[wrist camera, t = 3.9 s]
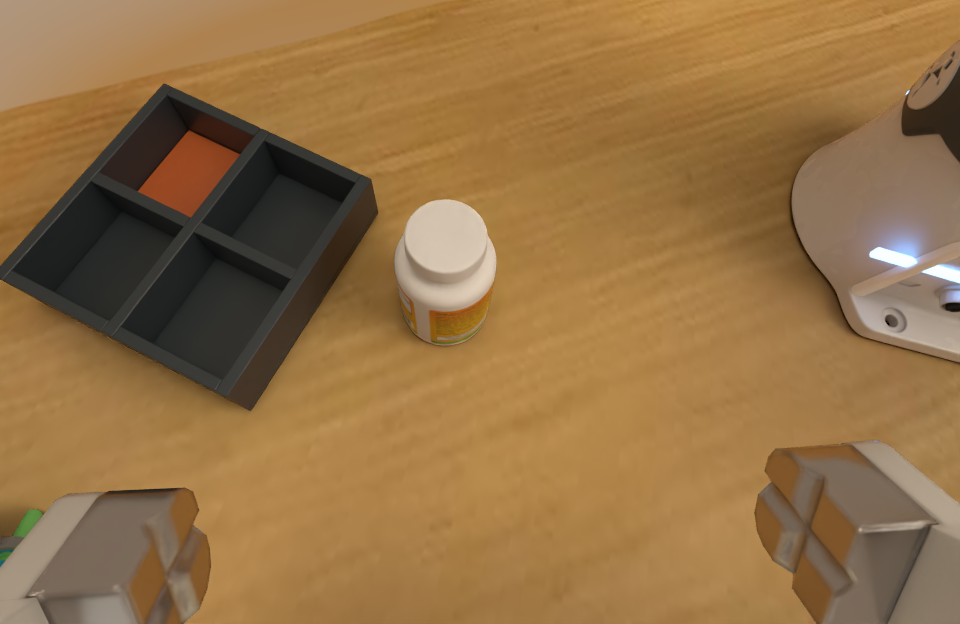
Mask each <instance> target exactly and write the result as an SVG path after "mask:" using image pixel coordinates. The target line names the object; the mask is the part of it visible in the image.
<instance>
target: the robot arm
mask: <svg viewBox="0 0 960 624" xmlns="http://www.w3.org/2000/svg"><path fill="white" fill-rule="evenodd" d="M792 214H793V219H794V223H795V227H796V230H797V233H798V235H799V238H800V240H801V242H802V244H803V246H804V248H805V250H806V251H807V253H808V255H809V256H810V258H811V259H812V261H813V262H814V263H815V265H816V266H817V267H818V268H819V270H820V271H821V272H822V273H823V274H824V276H825V277H826V278H827V279H828V281H829V282H830V283H831V285H832V286H833V288H834V289H835V291H836V293H837V296H838V299H839V301H840V304H841V307H842V310H843V312H844V315H845V317H846V319H847V321H848V323H849V324H850V326H851V327H852V329H853V330H854V331H855V332H856V333H858V334H859V335H861V336H863V337H866V338H869V339H873V340H877V341H880V342H884V343H888V344H892V345H895V346H899V347H903V348H907V349H910V350H914V351H918V352H922V353H925V354H929V355H933V356H937V357H940V358H944V359H948V360H952V361H955V362H959V363H960V40H958V41H957V42H956V43H954V44H953V45H952V46H951V47H950V48H949V49H947V50H946V51H945V52H944V53H943V54H942V55H941V56H940V57H939V58H938V59H937V60H936V61H935V62H934V63H933V64H932V65H931V66H930V67H929V68H928V69H927V70H926V71H925V72H924V73H923V75H922V76H921V77H920V78H919V79H918V81H917V82H916V83H915V84H914V85H913V86H912V88H911V89H910V90H909V91H908V92H907V93H906V95H905V96H904V97H902V98H901V99H900V100H898V101H897V102H896V103H894V104H893V105H892V106H890V107H889V108H888V109H886V110H885V111H883V112H882V113H881V114H879V115H878V116H876V117H875V118H873V119H872V120H870V121H869V122H867V123H866V124H864V125H863V126H861V127H859V128H858V129H856V130H854V131H853V132H851V133H849V134H847V135H846V136H844V137H842V138H840V139H838V140H836V141H834V142H832V143H829V144H827V145H825V146H823V147H822V148H820V149H818V150H817V151H816V152H814V153H813V154H812V155H811V156H810V157H809V158H808V159H807V160H806V161H805V162H804V164H803V165H802V166H801V168H800V170H799V172H798V174H797V176H796V178H795V181H794V185H793V190H792ZM885 319H886V320H887V321H888V322H889V325H890V326H888V325H887V323H886V322H885ZM765 472H766V474H767V476H768V477H769V479H770V481H771V483H770V484H769V485H768V486H767V487H766V488H765V489H763V490H762V491H761V492H760V493H759V494H758V498H757V503H756V507H755V512H754V513H755V520H756V527H757V532H758V535H759V537H760V539H761V542H762V544H763V546H764V548H765V549H766V551H767V552H768V554H769V555H770V557H771V558H772V560H773V561H774V562H775V563H777V564H779V565H780V566H782V567H783V568H785V569H786V570H788V571H790V572H791V573H793V581H792V589H793V590H794V592H795V593H796V595H797V596H798V598H799V599H800V600H801V602H802V603H803V605H804V606H805V608H806V609H807V610H808V612H809V613H810V615H811V616H812V618H813V619H814V621H815V622H816V623H817V624H960V504H959V503H958V502H957V501H955V500H954V499H953V498H952V497H951V496H949V495H948V494H947V493H946V492H945V491H943V490H942V489H941V488H940V487H939V486H937V485H936V484H935V483H934V482H933V481H931V480H930V479H929V478H928V477H927V476H925V475H924V474H923V473H922V472H921V471H919V470H918V469H917V468H916V467H915V466H913V465H912V464H911V463H910V462H909V461H907V460H906V459H905V458H904V457H903V456H901V455H900V454H899V453H898V452H897V451H895V450H894V449H893V448H892V447H891V446H889V445H887V444H885V443H882V442H880V441H877V440H872V441H860V442H849V443H842V444H832V445H819V446H805V447H792V448H778V449H775V450H774V451H773V452H772V453H771V455H770V456H769V457H768V460H767V464H766V467H765ZM198 512H199V508H198V505H197V502H196V499H195V496H194V493H193V491H191V490H189V489H187V488H168V489H145V490H122V491H108V492H93V493H70V494H67V495H65V496H63V497H61V498H59V499H57V500H55V501H54V502H53V504H52V505H51V506H50V507H49V508H48V510H47V511H46V512H45V513H44V515H43V516H42V517H41V518H40V519H39V521H38V522H37V523H36V524H35V525H34V527H33V528H32V529H31V530H30V532H29V533H28V534H27V535H26V536H25V538H24V539H23V540H22V541H21V542H20V544H19V545H18V546H17V547H16V549H15V550H14V551H13V552H12V553H11V555H10V556H9V557H8V558H7V559H6V561H5V562H4V563H3V564H2V566H1V567H0V624H184V623H185V622H186V621H187V620H188V619H189V618H190V617H192V616H193V615H194V614H195V613H196V612H197V611H198V610H199V609H200V607H201V604H202V601H203V599H204V596H205V593H206V591H207V587H208V581H209V575H210V568H211V559H210V547H209V544H208V540H207V536H206V535H205V534H204V533H203V532H202V531H200V530H199V529H198V528H196V527H195V526H194V525H193V522H194V520H195V518H196V516H197V514H198Z"/></svg>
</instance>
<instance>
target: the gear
mask: <svg viewBox="0 0 960 624" xmlns="http://www.w3.org/2000/svg"><path fill="white" fill-rule="evenodd" d="M41 517H42V512H41V511H39V510H35V509H33V510H29V511H28V512H27V513H26V514H25V516H24V518H23V519H22V521H21V522H20V524H19V526H18V527H17V529H16V531H15V532H14V534H13V536H8V537H3V538H0V567H1V566H2V564H3V563H4V562H5V561H6V559H7V558H8V557H9V556H10V555H11V553H12V552H13V551H14V550H15V549H16V547H17V546H18V545H19V544H20V542H21V541H22V540H23V539H24V538H25V536H26V535H27V534H28V533H29V532H30V530H31V529H32V528H33V527H34V525H35V524H36V523H37V522H38V521H39V519H40V518H41Z"/></svg>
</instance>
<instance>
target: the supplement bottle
mask: <svg viewBox="0 0 960 624" xmlns="http://www.w3.org/2000/svg"><path fill="white" fill-rule="evenodd" d="M394 268H395V275H396V280H397V285H398V290H399V295H400V301H401V306H402V311H403V315H404V318H405V320H406V322H407V324H408V326H409V327H410V329H411V330H412V331H413V332H414V333H415V334H416V335H417V336H418V337H419V338H421V339H423V340H424V341H426V342H429V343H432V344H435V345H455V344H459V343H462V342H464V341H466V340H468V339H469V338H471V337H472V336H473V335H474V334H476V333H477V332H478V330H479V329H480V328H481V326H482V325H483V323H484V321H485V318H486V316H487V312H488V308H489V303H490V298H491V293H492V288H493V283H494V279H495V274H496V253H495V249H494V247H493V244H492V242H491V240H490V238H489V237H488V235H487V229H486V226H485V223H484V221H483V219H482V218H481V216H480V215H479V214H478V213H477V212H476V211H475V210H474V209H473V208H471V207H470V206H468V205H467V204H464V203H462V202H459V201H456V200H448V199H442V200H435V201H432V202H429V203H426V204H424V205H423V206H421V207H419V208H418V209H417V210H416V211H415V212H414V213H413V214H412V215H411V217H410V218H409V220H408V222H407V224H406V227H405V231H404V234H403V235H402V237H401V239H400V241H399V243H398V245H397V248H396V252H395V259H394Z"/></svg>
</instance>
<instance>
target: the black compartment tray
mask: <svg viewBox="0 0 960 624" xmlns="http://www.w3.org/2000/svg"><path fill="white" fill-rule="evenodd" d="M377 214H378V210H377V204H376V200H375V195H374V190H373V185H372V181H371V179H370V178H368V177H365V176H363V175H360V174H359V173H356V172H354V171H352V170H350V169H348V168H346V167H343V166H341V165H339V164H337V163H335V162H333V161H331V160H328V159H326V158H324V157H322V156H320V155H318V154H315V153H313V152H311V151H309V150H307V149H305V148H302V147H300V146H298V145H296V144H294V143H292V142H290V141H287V140H285V139H283V138H281V137H279V136H277V135H274V134H272V133H270V132H268V131H266V130H264V129H260V128H259V127H257V126H255V125H253V124H251V123H248V122H246V121H244V120H242V119H240V118H238V117H235V116H233V115H231V114H229V113H227V112H225V111H223V110H220V109H218V108H216V107H214V106H212V105H210V104H207V103H205V102H203V101H201V100H199V99H197V98H195V97H192V96H190V95H188V94H186V93H184V92H182V91H179V90H177V89H175V88H173V87H171V86H169V85H167V84H163V85H162V86H161V87H160V88H159V89H158V91H157V92H156V93H155V94H154V95H153V96H152V97H151V98H150V99H149V101H148V102H147V103H146V104H145V105H144V106H143V107H142V108H141V110H140V111H139V112H138V113H137V114H136V115H135V116H134V117H133V118H132V120H131V121H130V122H129V123H128V124H127V125H126V126H125V127H124V129H123V130H122V131H121V132H120V133H119V134H118V135H117V136H116V137H115V139H114V140H113V141H112V142H111V143H110V144H109V145H108V146H107V148H106V149H105V150H104V151H103V152H102V153H101V154H100V155H99V156H98V158H97V159H96V160H95V161H94V162H93V163H92V164H91V165H90V166H89V168H88V169H87V170H86V171H85V172H84V173H83V174H82V175H81V177H80V178H79V179H78V180H77V181H76V182H75V183H74V184H73V185H72V187H71V188H70V189H69V190H68V191H67V192H66V193H65V194H64V196H63V197H62V198H61V199H60V200H59V201H58V202H57V203H56V204H55V206H54V207H53V208H52V209H51V210H50V211H49V212H48V213H47V214H46V216H45V217H44V218H43V219H42V220H41V221H40V222H39V223H38V225H37V226H36V227H35V228H34V229H33V230H32V231H31V232H30V233H29V235H28V236H27V237H26V238H25V239H24V240H23V241H22V242H21V244H20V245H19V246H18V247H17V248H16V249H15V250H14V251H13V252H12V254H11V255H10V256H9V257H8V258H7V259H6V260H5V261H4V262H3V264H2V265H1V266H0V280H2V281H4V282H6V283H8V284H9V285H11V286H13V287H15V288H17V289H19V290H21V291H22V292H24V293H26V294H28V295H30V296H32V297H34V298H35V299H37V300H39V301H41V302H43V303H45V304H47V305H49V306H50V307H52V308H54V309H56V310H58V311H60V312H62V313H64V314H66V315H68V316H70V317H72V318H73V319H75V320H77V321H79V322H81V323H83V324H85V325H87V326H89V327H91V328H93V329H94V330H96V331H98V332H100V333H102V334H104V335H106V336H108V337H110V338H112V339H114V340H116V341H117V342H119V343H121V344H123V345H125V346H127V347H129V348H131V349H133V350H135V351H137V352H139V353H140V354H142V355H144V356H146V357H148V358H150V359H152V360H154V361H156V362H158V363H160V364H161V365H163V366H165V367H167V368H169V369H171V370H173V371H175V372H177V373H179V374H181V375H183V376H184V377H186V378H188V379H190V380H192V381H194V382H196V383H198V384H200V385H202V386H204V387H206V388H207V389H209V390H211V391H213V392H215V393H217V394H219V395H221V396H223V397H225V398H227V399H228V400H230V401H232V402H234V403H236V404H238V405H240V406H242V407H244V408H246V409H248V410H250V411H251V410H252V408H253V407H254V405H255V404H256V402H257V401H258V399H259V397H260V396H261V394H262V393H263V391H264V390H265V388H266V387H267V385H268V383H269V382H270V380H271V379H272V377H273V376H274V374H275V373H276V371H277V369H278V368H279V366H280V365H281V363H282V362H283V360H284V359H285V357H286V355H287V354H288V352H289V351H290V349H291V348H292V346H293V344H294V343H295V341H296V340H297V338H298V337H299V335H300V334H301V332H302V330H303V329H304V327H305V326H306V324H307V323H308V321H309V320H310V318H311V316H312V315H313V313H314V312H315V310H316V309H317V307H318V306H319V304H320V302H321V301H322V299H323V298H324V296H325V295H326V293H327V292H328V290H329V288H330V287H331V285H332V284H333V282H334V281H335V279H336V278H337V276H338V274H339V273H340V271H341V270H342V268H343V267H344V265H345V264H346V262H347V260H348V259H349V257H350V256H351V254H352V253H353V251H354V249H355V248H356V246H357V245H358V243H359V242H360V240H361V239H362V237H363V235H364V234H365V232H366V231H367V229H368V228H369V226H370V225H371V223H372V221H373V220H374V218H375V217H376V215H377Z"/></svg>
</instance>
